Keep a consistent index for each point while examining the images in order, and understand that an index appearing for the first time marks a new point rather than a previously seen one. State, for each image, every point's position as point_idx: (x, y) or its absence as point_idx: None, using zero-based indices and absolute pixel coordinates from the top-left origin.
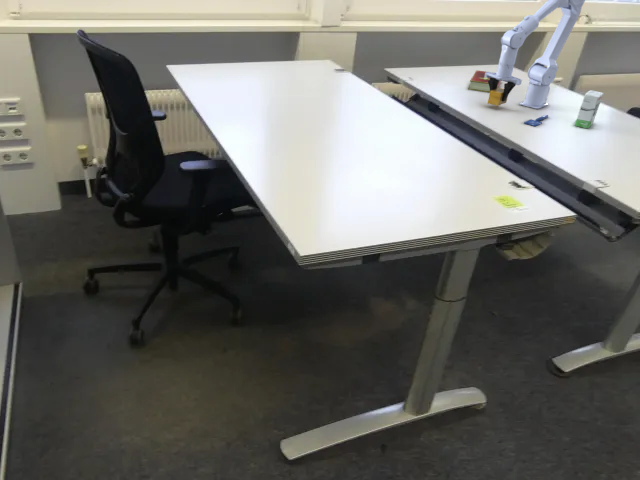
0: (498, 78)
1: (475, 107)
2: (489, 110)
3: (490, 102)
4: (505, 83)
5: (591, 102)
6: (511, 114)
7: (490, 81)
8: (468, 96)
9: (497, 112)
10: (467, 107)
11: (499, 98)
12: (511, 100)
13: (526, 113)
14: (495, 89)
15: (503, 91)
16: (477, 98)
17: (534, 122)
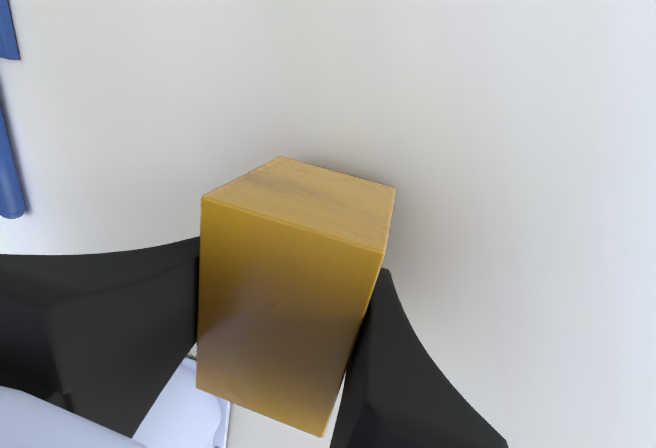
0: (22, 440)
1: (508, 122)
2: (351, 114)
3: (361, 182)
4: (48, 347)
5: None
6: (173, 127)
7: (440, 439)
8: (614, 424)
9: (273, 101)
10: (613, 49)
11: (243, 175)
12: (298, 432)
13: (126, 225)
14: (334, 350)
15: (216, 309)
16: (523, 401)
17: None
